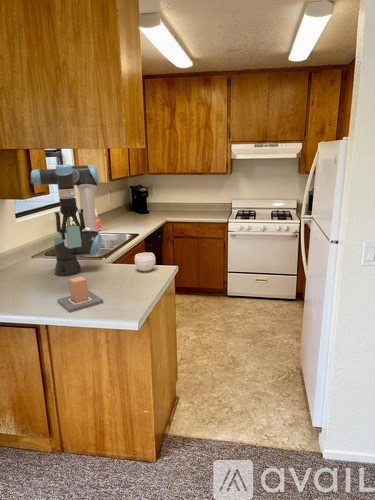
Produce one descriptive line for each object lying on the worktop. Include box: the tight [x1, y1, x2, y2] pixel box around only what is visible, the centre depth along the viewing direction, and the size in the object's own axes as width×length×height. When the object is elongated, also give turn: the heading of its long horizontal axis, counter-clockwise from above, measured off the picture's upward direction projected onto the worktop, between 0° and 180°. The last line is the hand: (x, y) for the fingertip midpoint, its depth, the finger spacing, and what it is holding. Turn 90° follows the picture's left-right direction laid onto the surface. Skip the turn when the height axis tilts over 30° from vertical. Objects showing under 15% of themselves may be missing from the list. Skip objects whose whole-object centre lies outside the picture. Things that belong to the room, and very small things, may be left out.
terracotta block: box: [68, 276, 89, 303], centre depth 166 cm, size 6×6×10 cm
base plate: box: [56, 290, 104, 313], centre depth 167 cm, size 16×16×2 cm
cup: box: [134, 252, 157, 273], centre depth 212 cm, size 12×12×10 cm
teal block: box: [65, 224, 81, 249], centre depth 175 cm, size 6×6×10 cm
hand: (73, 244), depth 176 cm, fingers closed on teal block, 6 cm apart
